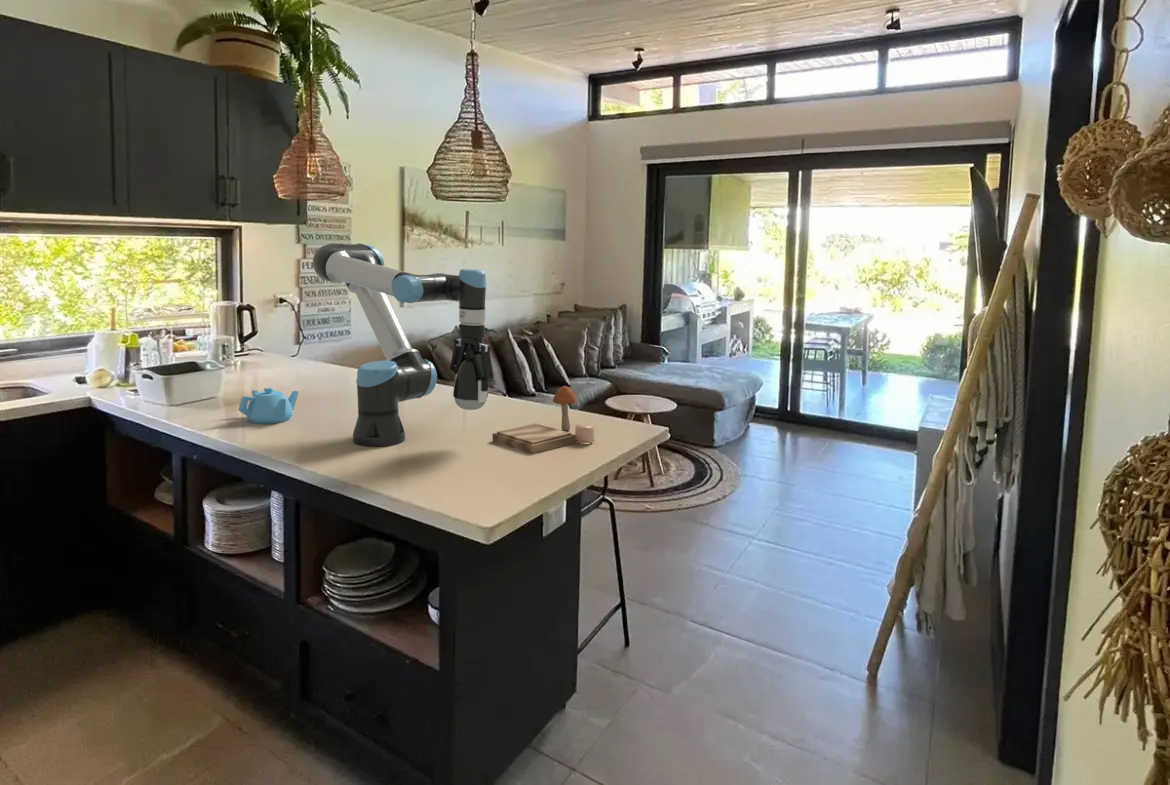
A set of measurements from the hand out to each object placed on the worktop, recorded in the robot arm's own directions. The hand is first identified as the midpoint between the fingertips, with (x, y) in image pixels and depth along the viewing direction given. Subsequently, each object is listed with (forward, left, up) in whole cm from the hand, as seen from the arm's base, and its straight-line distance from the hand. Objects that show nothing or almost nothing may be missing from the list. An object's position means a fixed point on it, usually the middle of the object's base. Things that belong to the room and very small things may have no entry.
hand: (470, 398), depth 213 cm
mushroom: (+6, +33, -14) cm, 37 cm away
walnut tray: (+10, +16, -14) cm, 24 cm away
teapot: (-67, -31, -14) cm, 75 cm away
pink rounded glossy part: (+20, +28, -14) cm, 38 cm away
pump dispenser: (0, 0, -3) cm, 3 cm away
